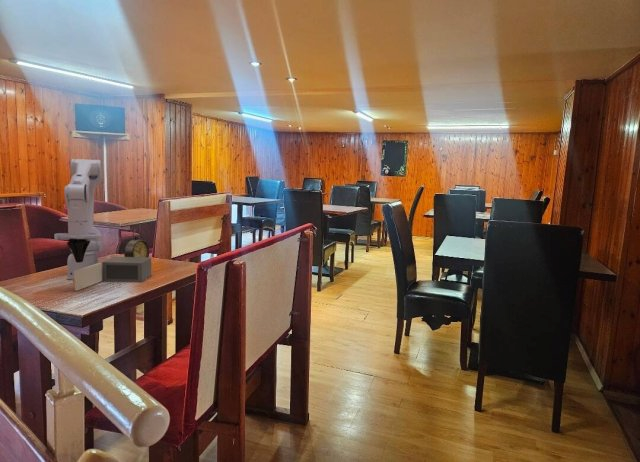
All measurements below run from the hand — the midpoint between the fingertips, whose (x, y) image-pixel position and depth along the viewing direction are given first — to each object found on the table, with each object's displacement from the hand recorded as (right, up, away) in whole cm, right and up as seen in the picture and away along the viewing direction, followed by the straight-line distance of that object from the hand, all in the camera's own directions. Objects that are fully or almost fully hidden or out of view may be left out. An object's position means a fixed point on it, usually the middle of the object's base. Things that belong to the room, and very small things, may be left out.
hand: (79, 261), depth 140 cm
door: (0, -8, +6) cm, 10 cm away
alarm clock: (+4, -5, +34) cm, 34 cm away
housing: (+8, -7, +18) cm, 21 cm away
